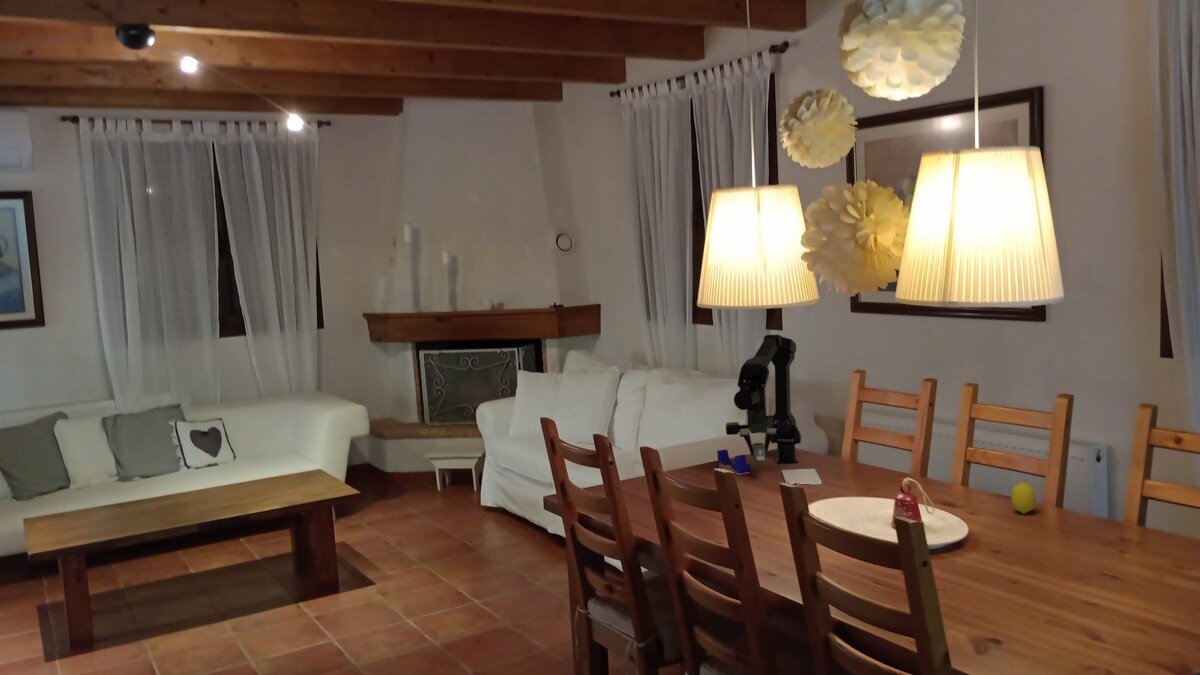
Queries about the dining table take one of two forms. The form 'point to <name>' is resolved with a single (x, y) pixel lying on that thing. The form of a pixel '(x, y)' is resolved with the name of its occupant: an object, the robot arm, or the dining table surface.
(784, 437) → the robot arm
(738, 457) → the cable clip
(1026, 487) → the lemon
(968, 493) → the dining table surface
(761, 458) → the connector
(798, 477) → the mat
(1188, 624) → the dining table surface
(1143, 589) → the dining table surface
